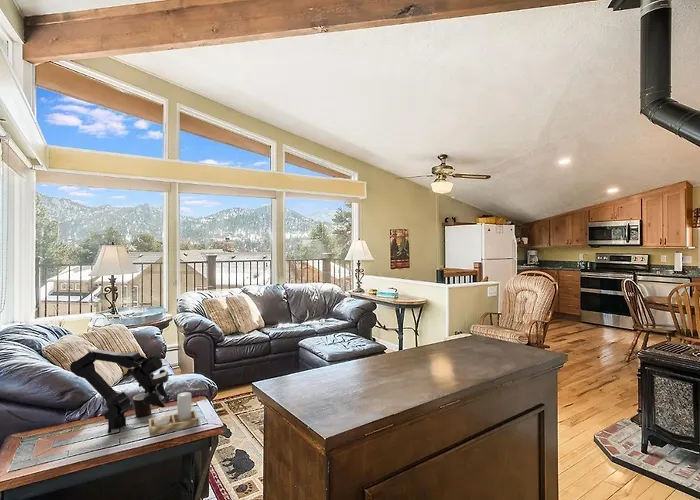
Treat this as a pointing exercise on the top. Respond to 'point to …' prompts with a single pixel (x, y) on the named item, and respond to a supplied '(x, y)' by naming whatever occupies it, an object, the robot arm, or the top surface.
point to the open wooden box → (173, 423)
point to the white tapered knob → (184, 406)
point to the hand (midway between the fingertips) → (165, 401)
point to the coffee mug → (141, 406)
